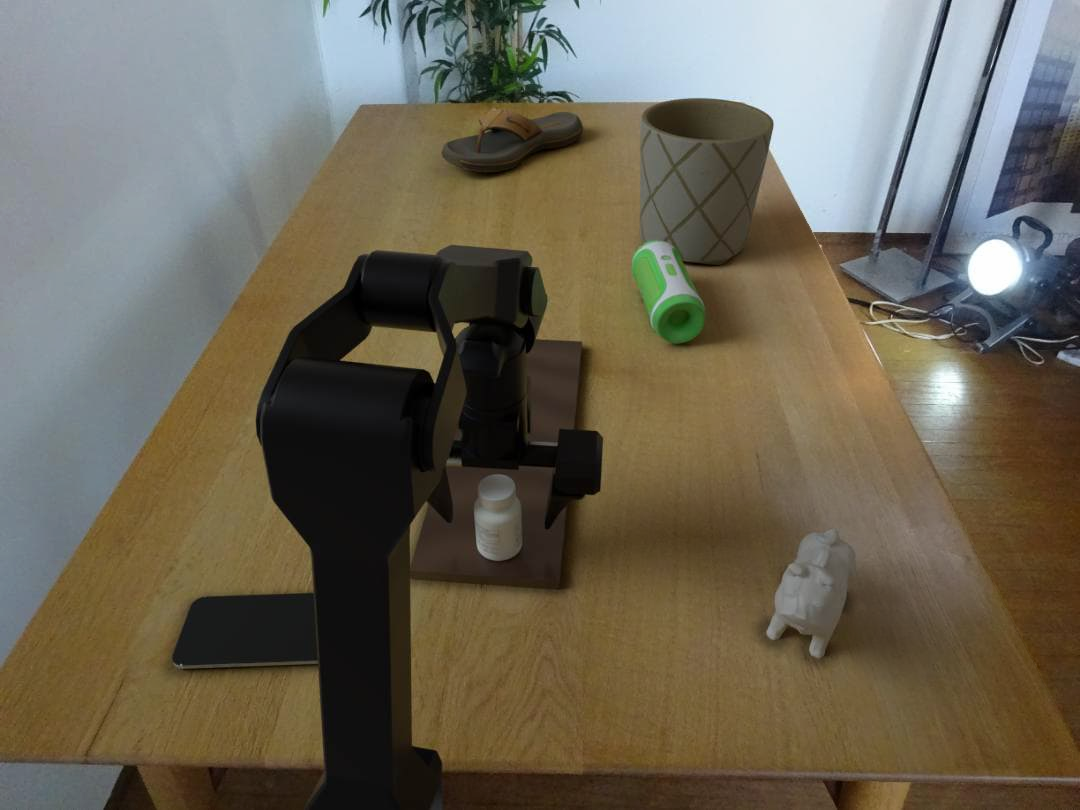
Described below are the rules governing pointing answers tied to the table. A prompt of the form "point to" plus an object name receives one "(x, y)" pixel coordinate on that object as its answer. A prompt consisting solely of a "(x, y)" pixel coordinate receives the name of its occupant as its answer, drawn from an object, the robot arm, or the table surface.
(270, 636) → the smartphone
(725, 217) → the planter
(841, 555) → the dog figurine
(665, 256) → the speaker
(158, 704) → the table surface
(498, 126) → the sandal
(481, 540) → the pill bottle
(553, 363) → the shelf board
